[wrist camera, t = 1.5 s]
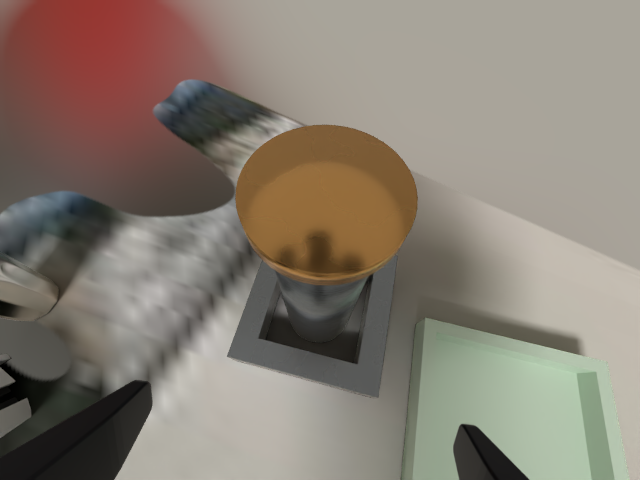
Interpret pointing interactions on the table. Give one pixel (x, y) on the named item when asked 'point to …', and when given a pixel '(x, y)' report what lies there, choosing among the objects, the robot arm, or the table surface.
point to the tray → (509, 406)
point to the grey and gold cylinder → (325, 218)
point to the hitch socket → (310, 365)
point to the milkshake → (24, 291)
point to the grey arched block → (11, 403)
